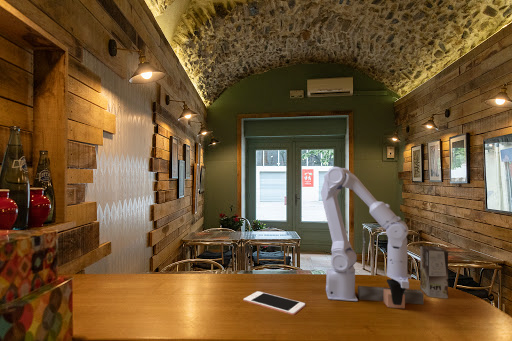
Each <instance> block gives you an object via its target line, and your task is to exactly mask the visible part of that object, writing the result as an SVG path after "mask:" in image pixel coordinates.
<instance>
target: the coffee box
mask: <svg viewBox="0 0 512 341" xmlns="http://www.w3.org/2000/svg"><path fill="white" fill-rule="evenodd" d="M419 248H420V251H419V252H420V253H419V254H420V259H419V260H420V263H419V264H420V265H419V266H420V267H419V268H420V269H419V270H420V279H419V282H420V285H419V287H420V289H421V291H423V293H424V294H425V295H426V296H428V297H430V298H439V299H449V250H446V249H443V248H441V247H440V246H433V245H420V247H419Z"/></svg>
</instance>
